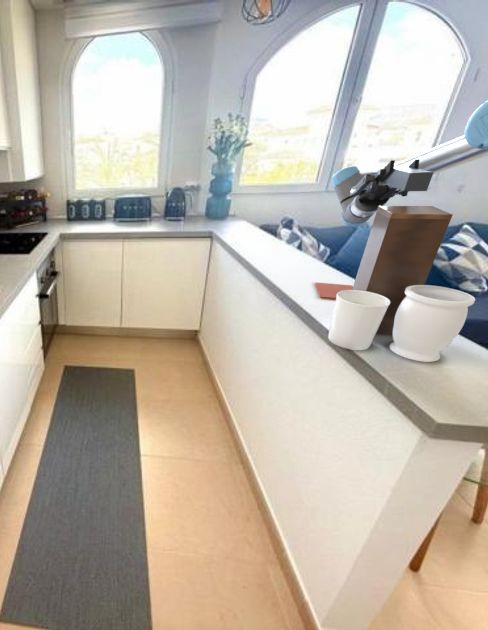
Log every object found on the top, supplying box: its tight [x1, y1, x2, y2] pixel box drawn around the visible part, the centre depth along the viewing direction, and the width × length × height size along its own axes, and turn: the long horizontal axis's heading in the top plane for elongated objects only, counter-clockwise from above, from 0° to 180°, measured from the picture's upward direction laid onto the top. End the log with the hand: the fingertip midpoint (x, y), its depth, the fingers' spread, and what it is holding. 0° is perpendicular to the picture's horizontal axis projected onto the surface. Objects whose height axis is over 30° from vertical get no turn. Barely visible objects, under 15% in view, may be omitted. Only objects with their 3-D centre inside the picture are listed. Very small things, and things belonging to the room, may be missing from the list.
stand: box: [352, 205, 453, 337], centre depth 85 cm, size 10×11×30 cm
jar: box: [389, 284, 476, 363], centre depth 76 cm, size 11×10×15 cm
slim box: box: [382, 165, 434, 192], centre depth 86 cm, size 4×20×4 cm, turn 153°
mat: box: [315, 282, 353, 300], centre depth 111 cm, size 10×13×1 cm
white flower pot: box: [327, 290, 390, 351], centre depth 83 cm, size 10×10×12 cm
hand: (404, 165), depth 87 cm, fingers closed on slim box, 4 cm apart
